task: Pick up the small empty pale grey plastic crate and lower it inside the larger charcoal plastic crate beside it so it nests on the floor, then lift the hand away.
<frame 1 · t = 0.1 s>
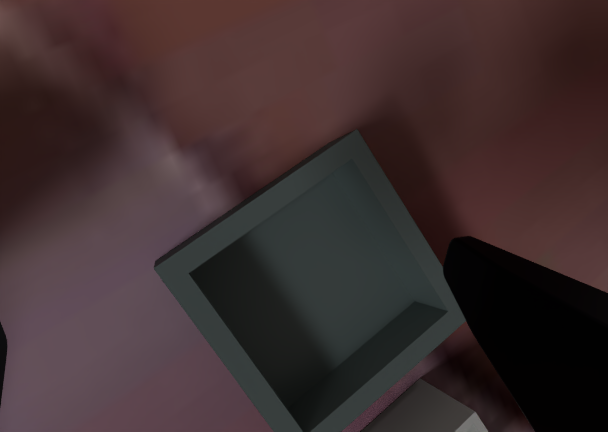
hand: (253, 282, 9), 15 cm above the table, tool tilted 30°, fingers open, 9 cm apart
big crate: (304, 283, 25), on the table
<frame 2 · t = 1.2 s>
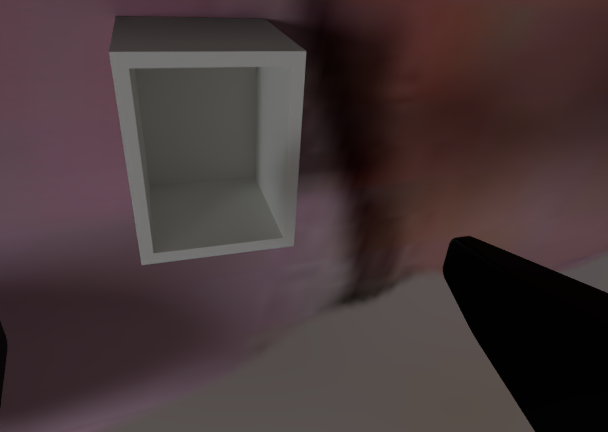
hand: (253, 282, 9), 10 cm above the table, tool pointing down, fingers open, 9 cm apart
small crate: (198, 109, 18), on the table
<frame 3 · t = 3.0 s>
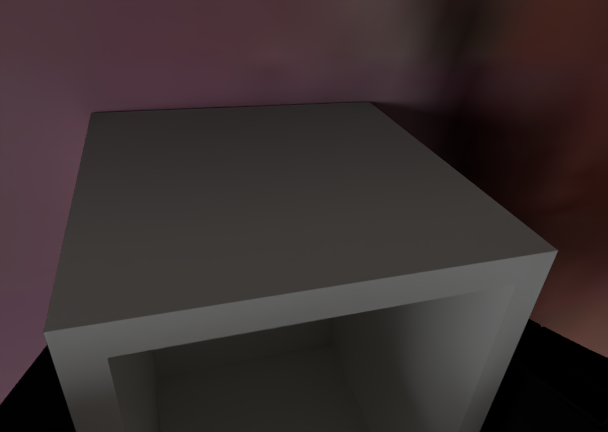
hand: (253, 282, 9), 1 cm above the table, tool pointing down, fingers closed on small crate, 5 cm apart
small crate: (243, 252, 10), on the table, touching gripper
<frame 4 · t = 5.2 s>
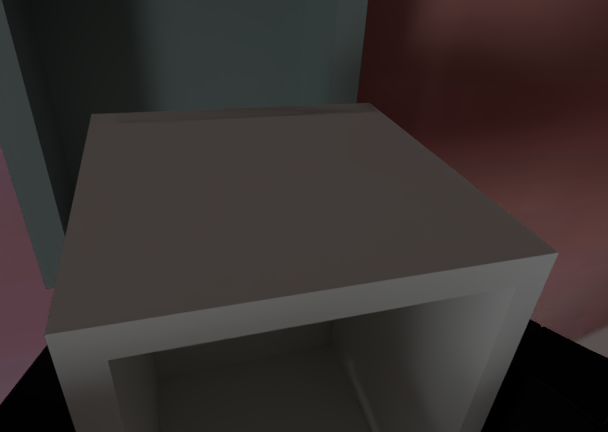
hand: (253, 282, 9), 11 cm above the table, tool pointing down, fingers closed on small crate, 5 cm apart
small crate: (243, 253, 10), point 10 cm above the table, touching gripper
big crate: (184, 91, 18), on the table
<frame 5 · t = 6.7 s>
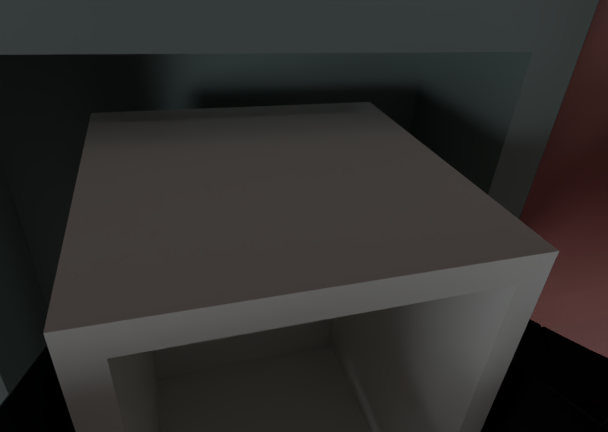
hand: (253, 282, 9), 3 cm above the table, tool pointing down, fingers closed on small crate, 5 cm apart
small crate: (243, 253, 10), point 2 cm above the table, touching gripper
big crate: (226, 196, 12), on the table
when the fingers open (3 cm above the table, at t = 7.6 s): small crate drops 1 cm, resting on big crate.
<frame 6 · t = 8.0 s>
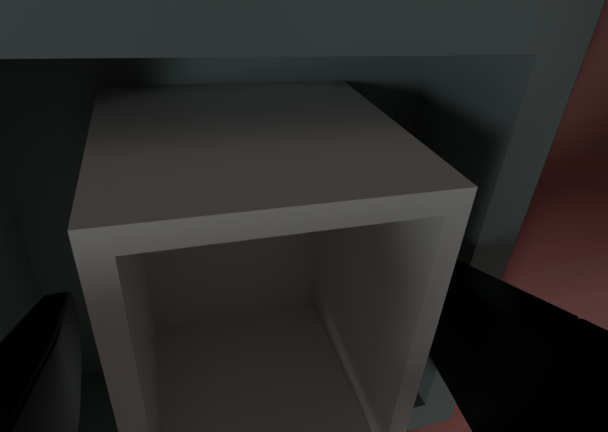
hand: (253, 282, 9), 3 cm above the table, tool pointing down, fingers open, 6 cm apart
small crate: (232, 217, 11), point 1 cm above the table, touching big crate
big crate: (227, 199, 12), on the table
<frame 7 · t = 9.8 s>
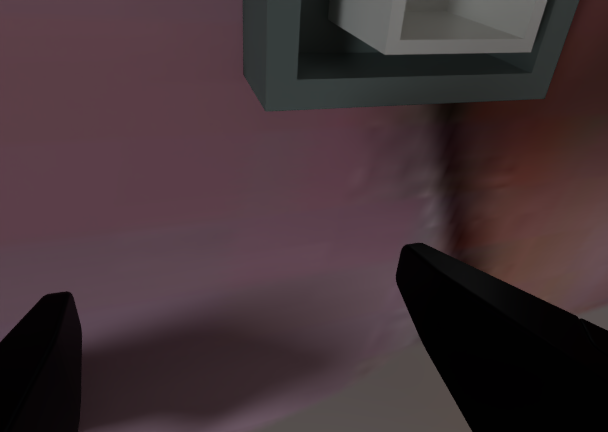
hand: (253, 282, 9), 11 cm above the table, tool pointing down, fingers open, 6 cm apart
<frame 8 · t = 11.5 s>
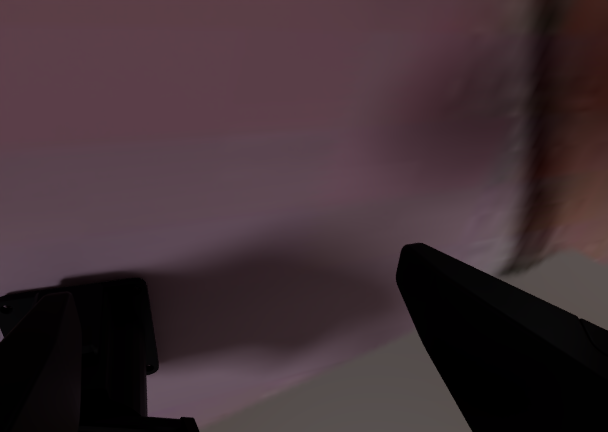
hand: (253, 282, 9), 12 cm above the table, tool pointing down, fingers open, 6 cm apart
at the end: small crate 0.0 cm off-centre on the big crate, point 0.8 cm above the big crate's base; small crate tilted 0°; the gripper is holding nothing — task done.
